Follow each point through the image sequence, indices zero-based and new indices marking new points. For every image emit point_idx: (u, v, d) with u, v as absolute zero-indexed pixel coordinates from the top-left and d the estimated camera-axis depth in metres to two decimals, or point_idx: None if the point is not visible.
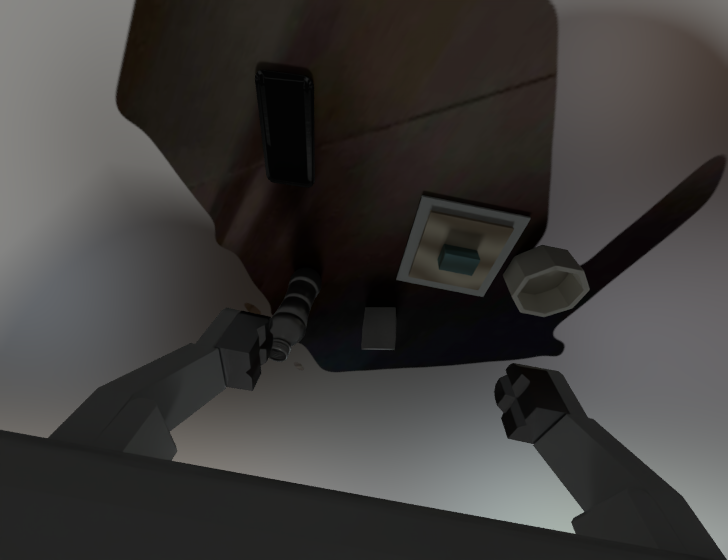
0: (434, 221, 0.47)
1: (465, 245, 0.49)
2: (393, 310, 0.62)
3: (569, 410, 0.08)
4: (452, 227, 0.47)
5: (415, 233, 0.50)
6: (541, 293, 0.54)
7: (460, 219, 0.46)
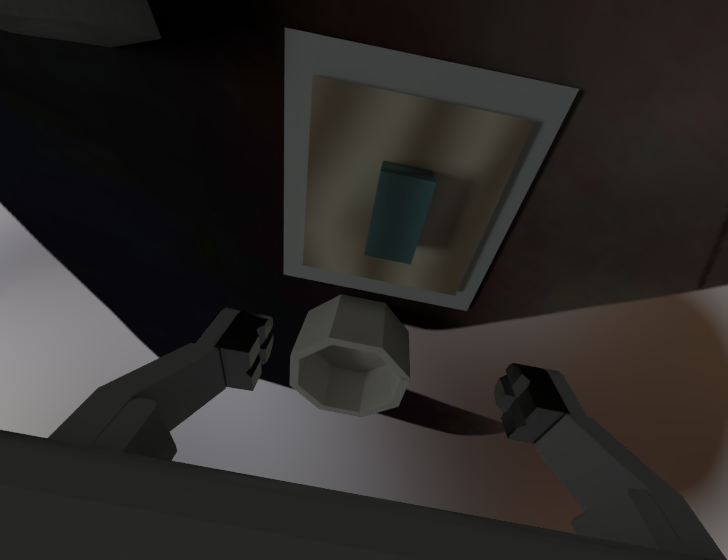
0: (504, 135, 0.18)
1: None
2: (146, 27, 0.17)
3: (569, 410, 0.08)
4: (477, 184, 0.20)
5: (464, 80, 0.17)
6: (316, 353, 0.32)
7: (496, 198, 0.20)
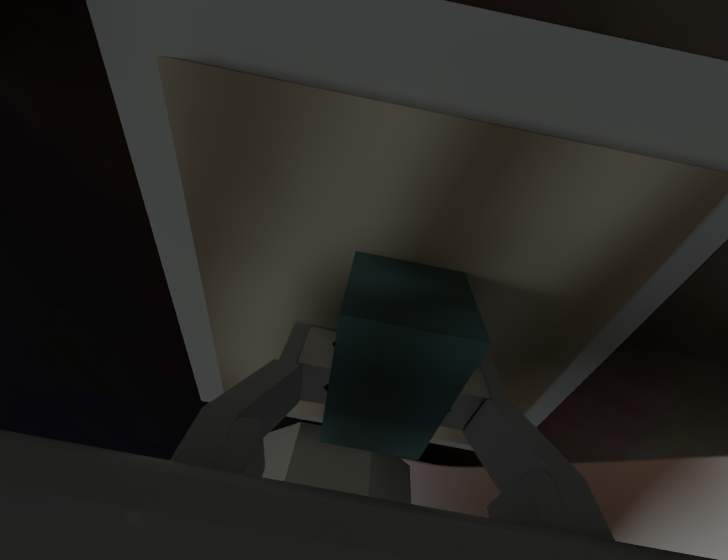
0: (651, 207, 0.07)
1: None
2: None
3: (490, 395, 0.08)
4: (562, 299, 0.09)
5: (559, 71, 0.07)
6: None
7: (598, 324, 0.09)
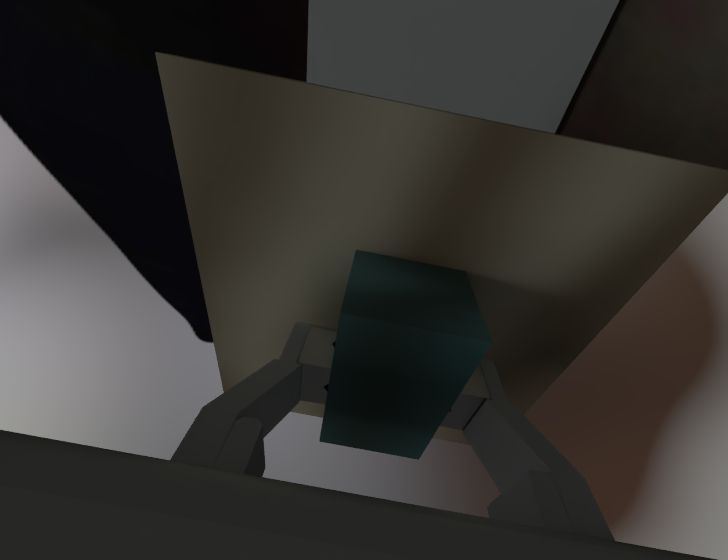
0: (652, 205, 0.07)
1: None
2: None
3: (490, 395, 0.08)
4: (563, 298, 0.09)
5: None
6: None
7: (599, 323, 0.09)
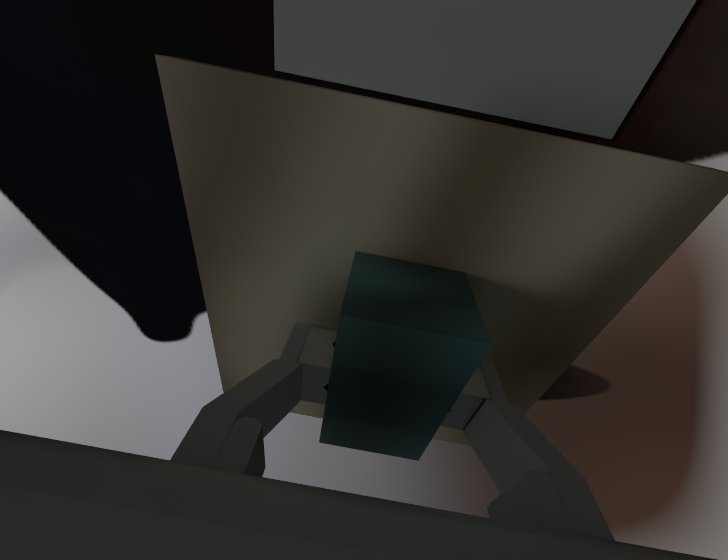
0: (651, 207, 0.07)
1: None
2: None
3: (490, 395, 0.08)
4: (563, 300, 0.09)
5: None
6: None
7: (599, 324, 0.09)
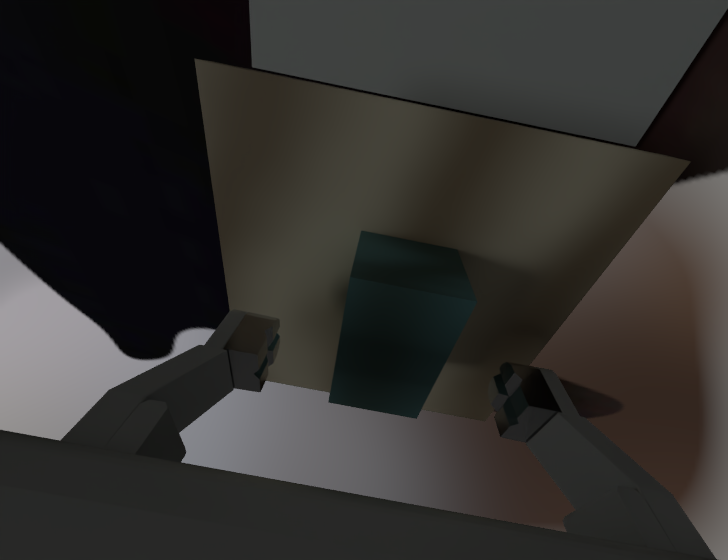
0: (615, 189, 0.08)
1: None
2: None
3: (561, 408, 0.08)
4: (544, 274, 0.10)
5: None
6: None
7: (576, 296, 0.11)
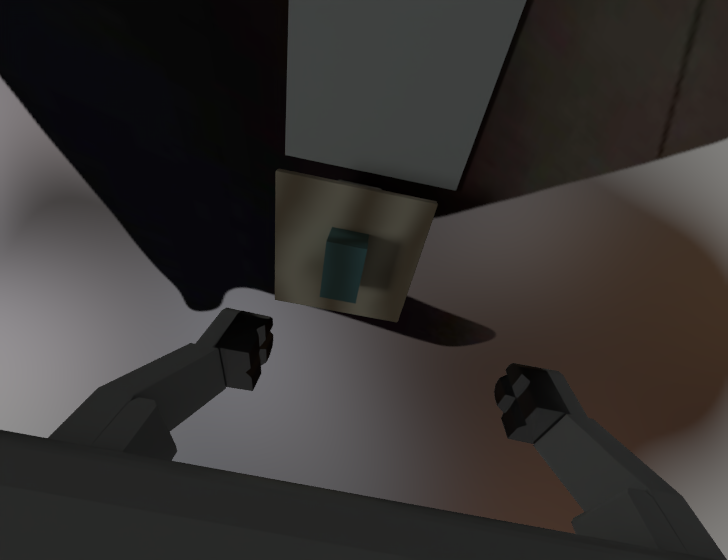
0: (418, 212, 0.25)
1: (365, 268, 0.28)
2: None
3: (569, 410, 0.08)
4: (403, 244, 0.26)
5: None
6: None
7: (418, 253, 0.27)
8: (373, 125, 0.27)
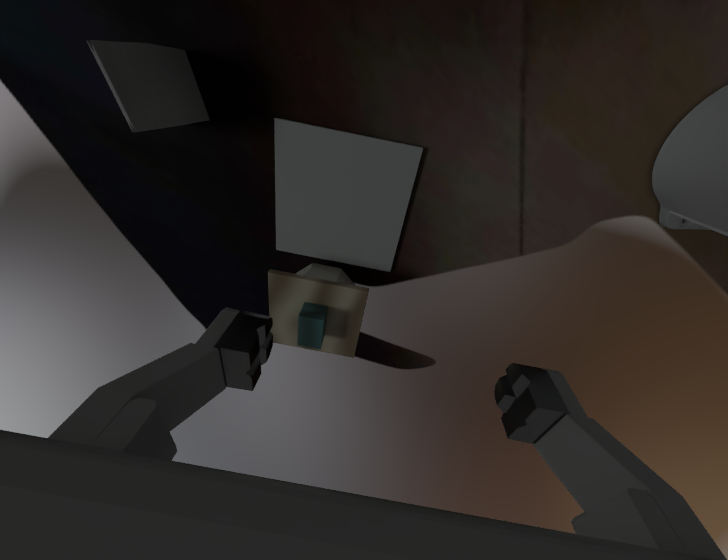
0: (356, 295, 0.39)
1: (328, 325, 0.43)
2: (203, 117, 0.34)
3: (569, 410, 0.08)
4: (350, 312, 0.41)
5: (366, 143, 0.34)
6: None
7: (361, 317, 0.41)
8: (331, 235, 0.41)
